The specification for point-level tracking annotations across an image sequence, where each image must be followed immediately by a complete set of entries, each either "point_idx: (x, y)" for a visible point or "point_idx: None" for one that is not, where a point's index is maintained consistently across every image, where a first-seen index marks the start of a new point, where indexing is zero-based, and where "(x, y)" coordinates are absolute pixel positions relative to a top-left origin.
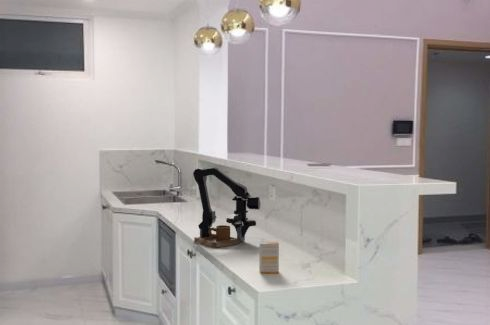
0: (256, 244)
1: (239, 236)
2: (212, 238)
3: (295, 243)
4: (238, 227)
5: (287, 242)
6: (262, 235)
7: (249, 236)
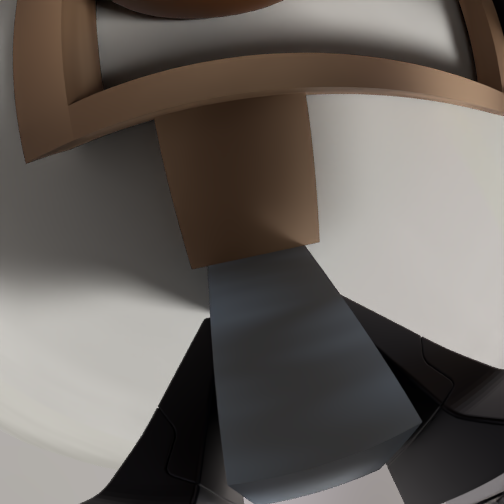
0: (30, 333)
1: (247, 291)
2: (474, 21)
3: (72, 457)
4: (416, 436)
5: (95, 457)
6: None
7: None
